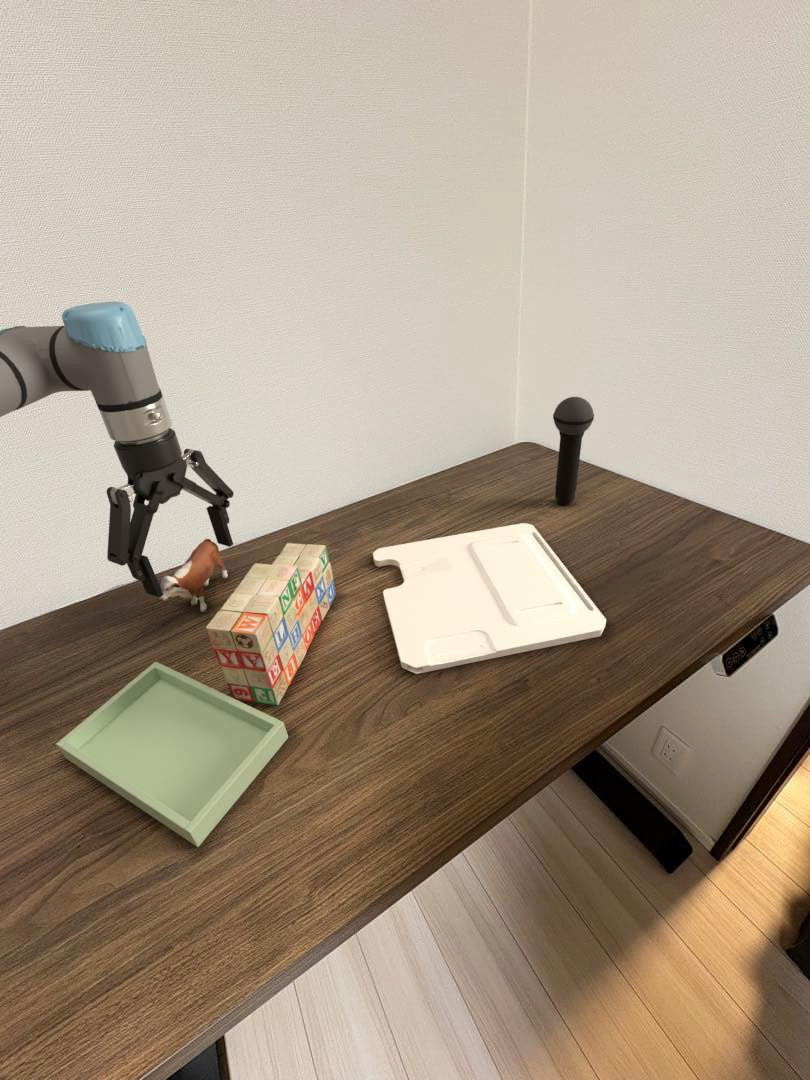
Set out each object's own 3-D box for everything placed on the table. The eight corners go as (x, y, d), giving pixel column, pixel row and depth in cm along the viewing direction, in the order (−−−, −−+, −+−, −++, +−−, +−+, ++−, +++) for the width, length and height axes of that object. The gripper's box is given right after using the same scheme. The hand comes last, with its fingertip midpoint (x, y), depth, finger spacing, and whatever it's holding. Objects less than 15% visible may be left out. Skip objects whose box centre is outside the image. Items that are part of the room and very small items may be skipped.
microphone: (540, 506, 98) (548, 401, 87) (554, 491, 103) (563, 389, 92) (575, 514, 95) (588, 407, 84) (588, 498, 99) (602, 394, 88)
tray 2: (404, 676, 66) (403, 668, 66) (372, 553, 90) (371, 546, 89) (611, 633, 70) (612, 625, 69) (528, 526, 93) (529, 518, 92)
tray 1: (65, 758, 60) (55, 743, 59) (162, 675, 70) (155, 661, 68) (198, 847, 51) (189, 832, 49) (288, 737, 60) (284, 722, 59)
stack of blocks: (299, 591, 83) (283, 524, 76) (337, 594, 81) (324, 527, 74) (232, 700, 66) (203, 626, 59) (278, 707, 64) (254, 632, 57)
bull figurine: (168, 626, 78) (146, 585, 74) (214, 568, 89) (197, 529, 84) (193, 629, 77) (173, 588, 73) (237, 570, 88) (222, 530, 83)
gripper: (69, 480, 57) (138, 626, 69) (234, 405, 75) (267, 530, 87) (30, 470, 61) (102, 610, 72) (197, 400, 78) (233, 522, 90)
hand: (192, 567), depth 80 cm, fingers open, 13 cm apart
